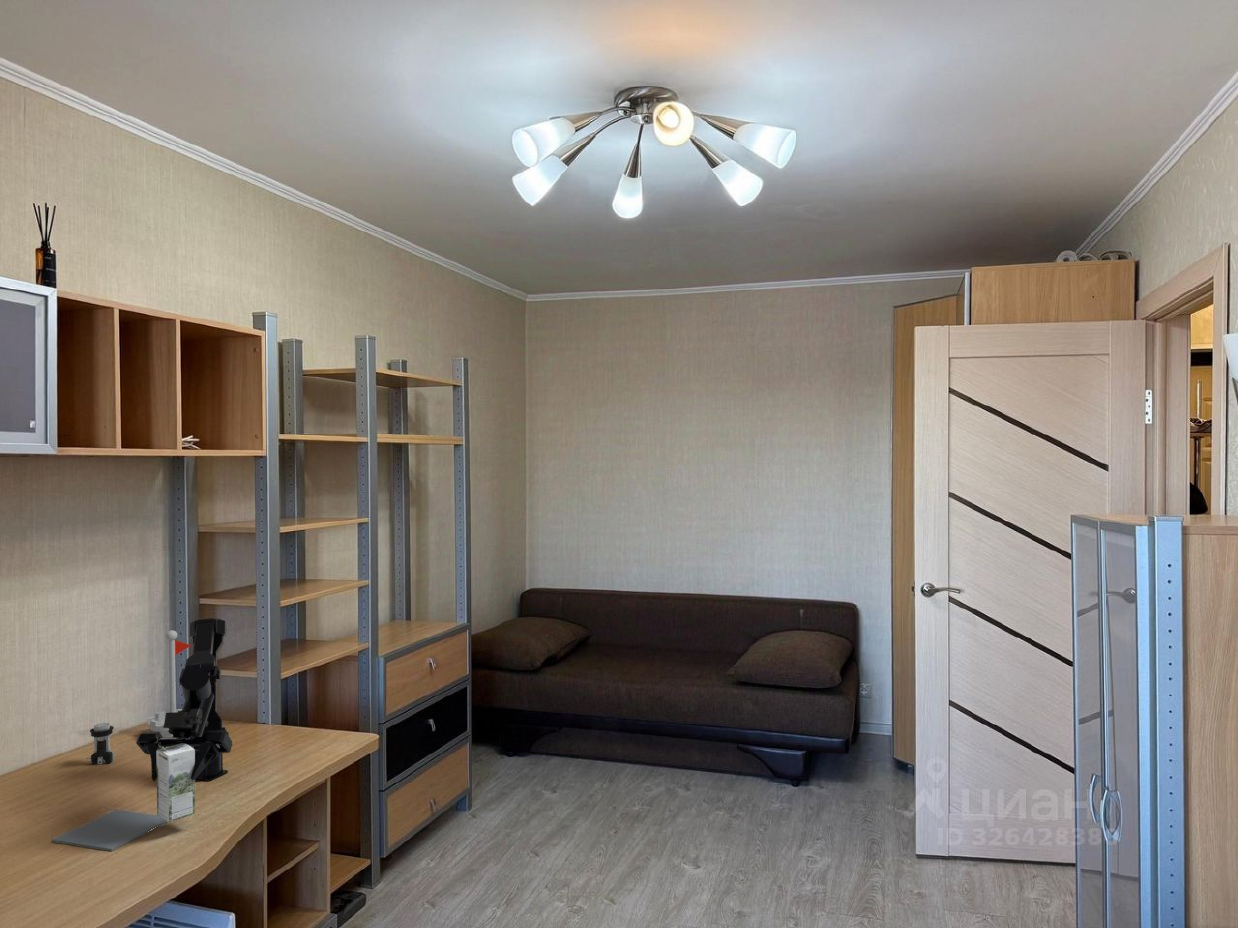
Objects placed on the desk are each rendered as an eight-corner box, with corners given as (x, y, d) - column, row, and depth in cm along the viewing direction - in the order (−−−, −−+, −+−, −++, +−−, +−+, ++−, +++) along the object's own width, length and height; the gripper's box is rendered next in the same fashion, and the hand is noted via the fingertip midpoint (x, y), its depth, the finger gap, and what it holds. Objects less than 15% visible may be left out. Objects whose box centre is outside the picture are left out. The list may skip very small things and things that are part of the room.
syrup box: (183, 807, 194) (182, 741, 194) (196, 814, 191) (195, 747, 190) (156, 815, 190) (155, 748, 190) (169, 823, 186) (167, 754, 186)
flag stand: (153, 744, 247) (151, 637, 246) (143, 732, 257) (141, 630, 257) (203, 734, 255) (201, 630, 255) (192, 723, 265) (190, 624, 265)
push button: (81, 767, 229) (80, 728, 229) (90, 760, 234) (89, 722, 234) (109, 765, 230) (108, 727, 230) (117, 758, 235) (116, 721, 235)
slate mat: (116, 811, 200) (115, 809, 200) (172, 819, 195) (172, 817, 195) (51, 841, 185) (51, 839, 185) (111, 851, 180) (111, 848, 180)
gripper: (139, 695, 193) (113, 763, 183) (225, 693, 194) (205, 762, 183) (157, 719, 201) (133, 786, 191) (240, 718, 202) (221, 785, 191)
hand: (172, 779), depth 189 cm, fingers closed on syrup box, 8 cm apart
